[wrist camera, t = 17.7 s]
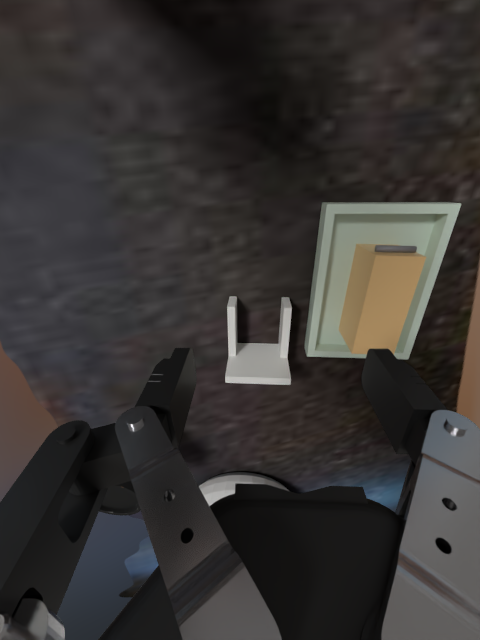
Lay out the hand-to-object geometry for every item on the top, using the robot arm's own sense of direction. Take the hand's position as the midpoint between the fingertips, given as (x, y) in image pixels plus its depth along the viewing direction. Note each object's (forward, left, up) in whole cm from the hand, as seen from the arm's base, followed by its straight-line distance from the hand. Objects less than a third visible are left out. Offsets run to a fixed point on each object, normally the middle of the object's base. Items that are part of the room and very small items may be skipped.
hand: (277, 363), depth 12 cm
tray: (+5, +13, -24) cm, 28 cm away
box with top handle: (+5, +13, -24) cm, 28 cm away
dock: (+11, -1, -24) cm, 26 cm away
